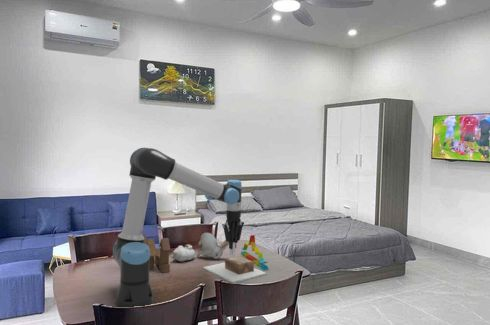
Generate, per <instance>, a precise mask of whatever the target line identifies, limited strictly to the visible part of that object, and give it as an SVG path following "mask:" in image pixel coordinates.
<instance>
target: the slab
mask: <svg viewBox="0 0 490 325" xmlns="http://www.w3.org/2000/svg"><path fill="white" fill-rule="evenodd" d="M224 263H225V269H228V270H230V271H232V272H234V273H236V274H238V275H240V274H244V273H248V272H252V271H254V268H255V264H254V262H253V261H251V260H248V259H247V258H245V257H244V256H242V255H241V256H240V255H239V256H234V257H229V258H228V257H227V258H225V260H224Z"/></svg>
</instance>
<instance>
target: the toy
mask: <svg viewBox="0 0 490 325" xmlns="http://www.w3.org/2000/svg"><path fill="white" fill-rule="evenodd" d="M199 239H200V240H199V241H198V243H197V246H198V247H199V248H200V247H201V249H199V250H198V252H197V254H196V258H197V259H198V258H199V257H200V255H202V256H203V257H207V256H208V257H209V256H211V257H212V259H214V260H218V259H219V258H221V257H222V256H223V253H224V251H225V250H226V249H227V248H228V247H229V242H227V241H226V239H225V240H224V241H223V242H222V243H221V244H220V245H218V240H217V239H216V237H215V236H214V234H212V233H211V232H204V233H203V232H202V234H200V238H199Z"/></svg>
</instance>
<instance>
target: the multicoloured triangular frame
mask: <svg viewBox="0 0 490 325" xmlns="http://www.w3.org/2000/svg"><path fill="white" fill-rule="evenodd" d="M255 237H256V236H255V235H253V234H252V235H250V236H249V240H248V242H244V245H243V247H241V252H240V255H241V256H242V257H244V258H246V259H248V260H251V261H253V262H254V266H256V267H258V268H260V269H261V271H268V270H269V266H268V265H266V264H267V263H268V261H265V260H264V256H263V252H262V251H260V249H259V247H257V246H256V238H255ZM248 246H251V251H252V252H254V254H255V255H257V256H258V258H256V257H255V256H253V255H252V254H250V253H249V252H247V250H248Z"/></svg>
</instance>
